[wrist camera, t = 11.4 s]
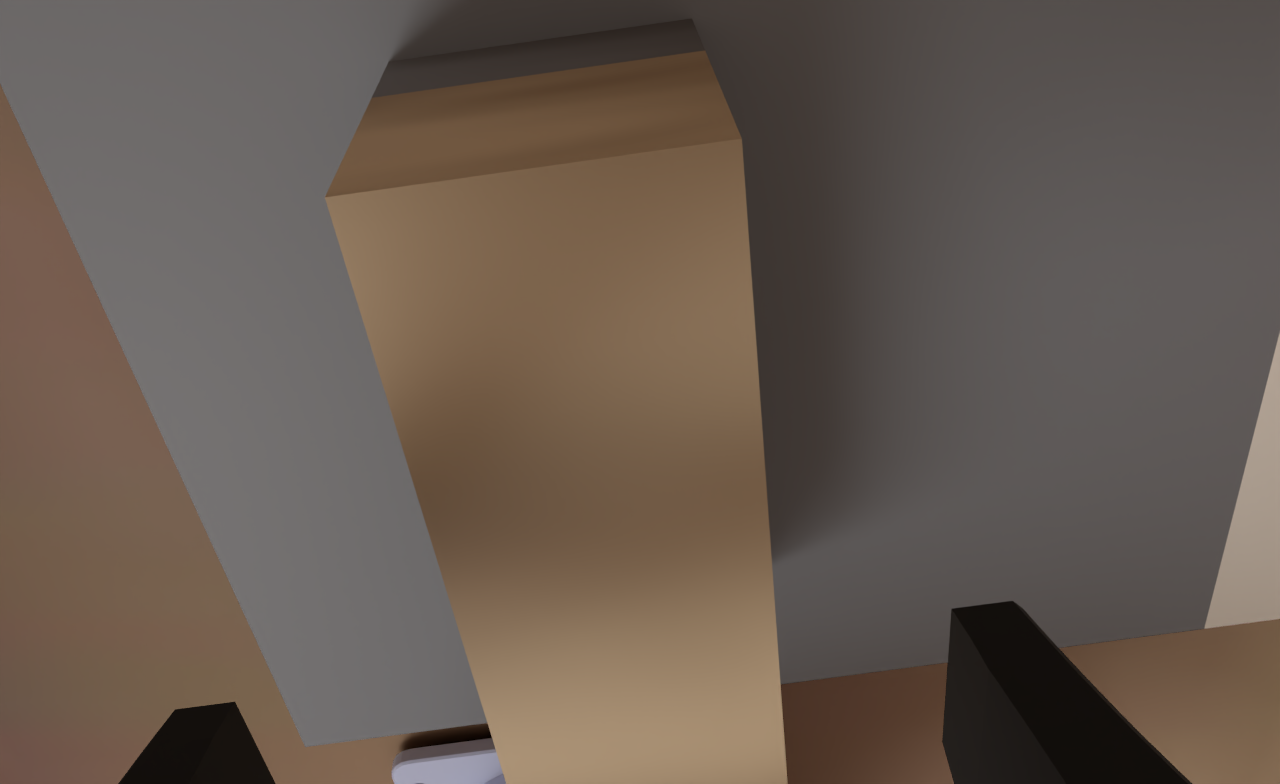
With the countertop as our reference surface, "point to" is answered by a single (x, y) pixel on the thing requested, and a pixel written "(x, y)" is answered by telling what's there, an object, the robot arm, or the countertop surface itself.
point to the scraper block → (579, 394)
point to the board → (783, 309)
